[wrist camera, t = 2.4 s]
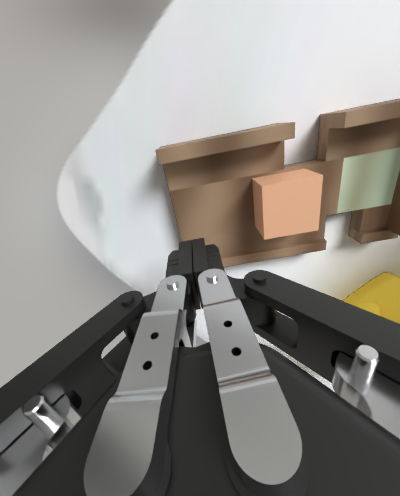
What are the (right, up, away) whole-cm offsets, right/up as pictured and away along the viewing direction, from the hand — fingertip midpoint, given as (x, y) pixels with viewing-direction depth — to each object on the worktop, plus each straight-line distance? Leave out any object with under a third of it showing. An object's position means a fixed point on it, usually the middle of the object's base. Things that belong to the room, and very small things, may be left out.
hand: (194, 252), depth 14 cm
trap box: (+8, +6, +8) cm, 12 cm away
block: (+7, +5, +6) cm, 11 cm away
